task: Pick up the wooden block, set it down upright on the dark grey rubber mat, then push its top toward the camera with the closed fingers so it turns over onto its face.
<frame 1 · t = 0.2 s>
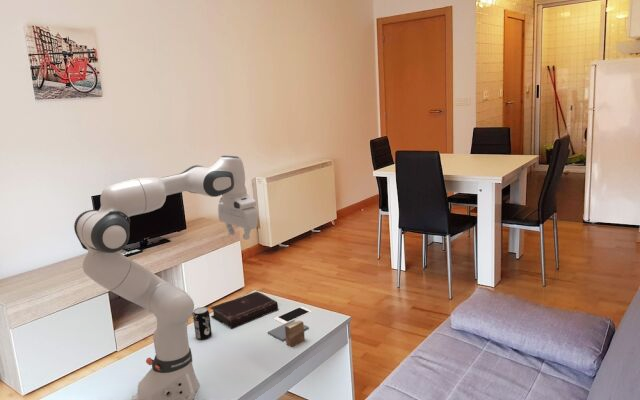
hand: (239, 236, 187), 47 cm above the table, fingers open, 8 cm apart
mat: (288, 331, 214), on the table
wooden block: (295, 342, 204), on the table
cell phone: (293, 316, 228), on the table
diary: (244, 314, 234), on the table
beverage can: (204, 336, 214), on the table
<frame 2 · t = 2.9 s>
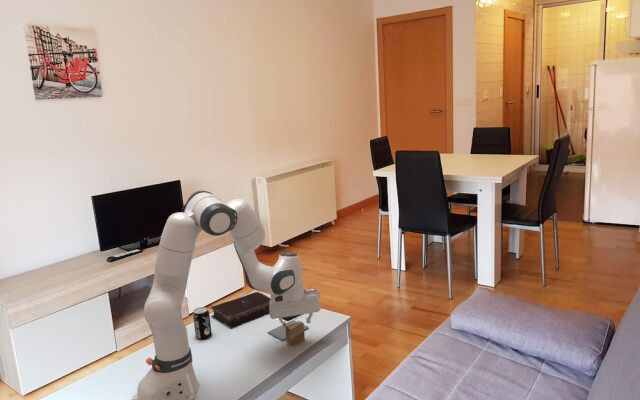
hand: (296, 324, 202), 8 cm above the table, fingers open, 8 cm apart
wooden block: (295, 343, 204), on the table, touching gripper
everything else where it was.
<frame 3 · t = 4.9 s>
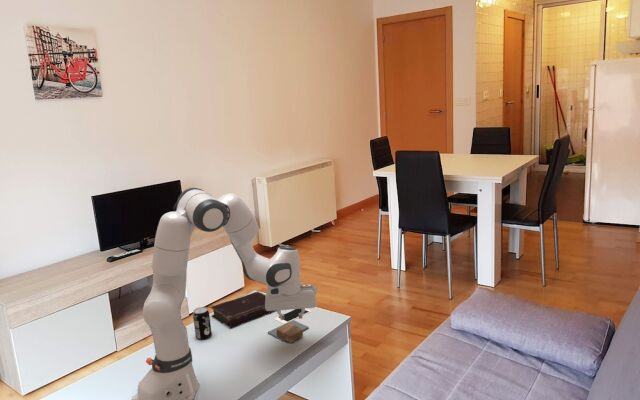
hand: (291, 318, 202), 10 cm above the table, fingers open, 6 cm apart
wooden block: (296, 335, 205), point 2 cm above the table, tilted 85°, touching mat
everything else where it was.
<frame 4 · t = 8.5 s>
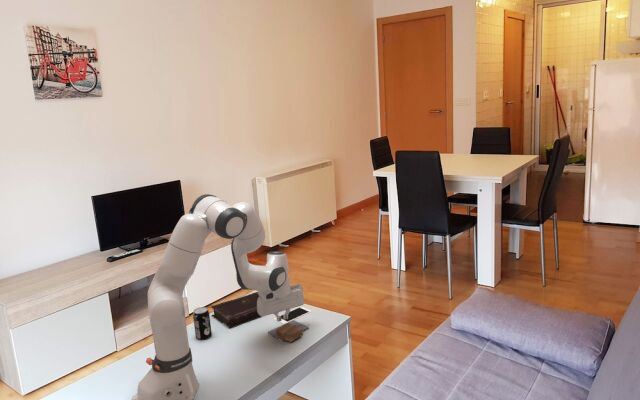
hand: (282, 319, 213), 5 cm above the table, fingers closed
wooden block: (296, 335, 205), point 2 cm above the table, tilted 90°, touching mat
everything else where it was.
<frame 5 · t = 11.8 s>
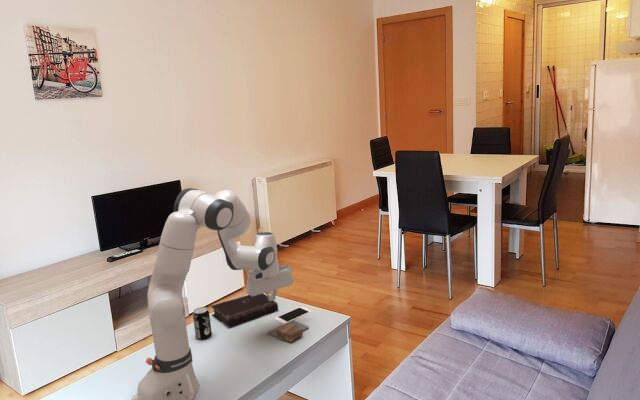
hand: (272, 299, 217), 12 cm above the table, fingers closed
nothing on the table moved.
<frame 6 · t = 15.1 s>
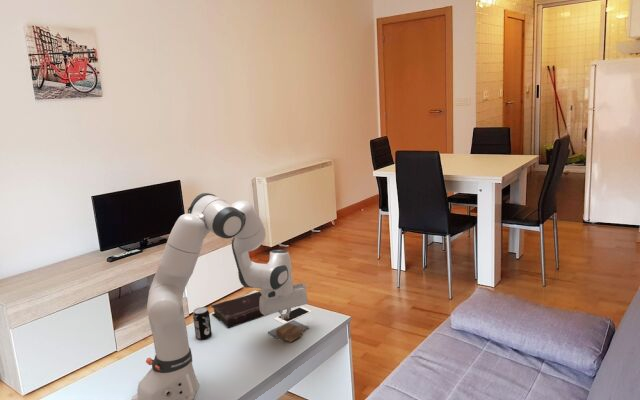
hand: (285, 318, 212), 6 cm above the table, fingers closed
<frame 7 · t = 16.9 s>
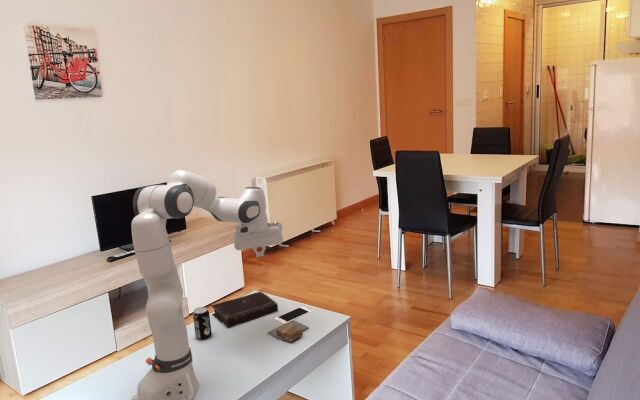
hand: (260, 256, 214), 31 cm above the table, fingers closed
nothing on the table moved.
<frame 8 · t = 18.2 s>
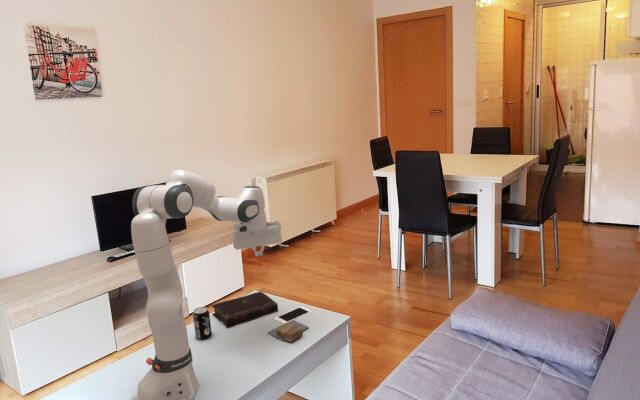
hand: (259, 255, 215), 31 cm above the table, fingers closed
nothing on the table moved.
at the end: wooden block tilted 90°; wooden block point 2.3 cm above the table; wooden block inside the target area (9.0 cm from its centre), point 2.3 cm above the table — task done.
